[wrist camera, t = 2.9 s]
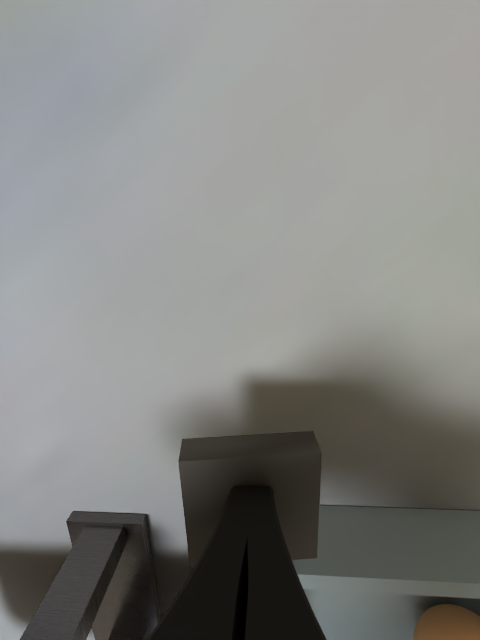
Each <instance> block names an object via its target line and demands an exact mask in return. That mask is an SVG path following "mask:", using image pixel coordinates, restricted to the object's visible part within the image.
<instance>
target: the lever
mask: <svg viewBox="0 0 480 640" xmlns="http://www.w3.org/2000/svg"><path fill="white" fill-rule="evenodd" d="M179 470H180V480H181V489H182V498H183V507H184V516H185V525H186V534H187V543H188V552H189V561H190V567H195V565H196V563H197V562H198V560H199V558H200V556H201V555H202V553H203V551H204V549H205V547H206V545H207V543H208V541H209V539H210V537H211V535H212V533H213V531H214V529H215V527H216V525H217V523H218V521H219V518H220V516H221V514H222V512H223V509H224V507H225V504H226V502H227V499H228V496H229V493H230V490H231V489H232V488H233V487H234V486H270V487H271V488H272V489H273V491H274V500H275V506H276V511H277V515H278V519H279V522H280V526H281V530H282V533H283V536H284V539H285V542H286V545H287V548H288V551H289V554H290V556H291V559H292V560H300V559H314V558H317V550H318V525H319V500H320V475H321V450H320V448H319V445H318V443H317V440H316V438H315V435H314V433H313V431H308V432H291V433H274V434H258V435H241V436H225V437H208V438H192V439H182V444H181V450H180V456H179Z"/></svg>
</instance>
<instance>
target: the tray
mask: <svg viewBox="0 0 480 640" xmlns="http://www.w3.org/2000/svg"><path fill="white" fill-rule="evenodd" d="M292 562H293V565H294V567H295V570H296V572H297V575H298V577H299V580H300V582H301V585H302V587H303V589H304V592H305V594H306V596H307V599H308V601H309V603H310V605H311V608H312V610H313V612H314V614H315V616H316V618H317V621H318V623H319V625H320V627H321V629H322V631H323V633H324V635H325V637H326V639H327V640H414V631H415V627H416V624H417V622H418V620H419V618H420V617H421V615H422V614H423V613H424V612H425V611H426V610H428V609H429V608H431V607H433V606H436V605H439V604H453V605H458V606H461V607H464V608H466V609H468V610H470V611H472V612H474V613H475V614H477V615H478V616H479V617H480V511H469V510H440V509H412V508H383V507H354V506H325V505H319V525H318V550H317V558H314V559H300V560H292Z"/></svg>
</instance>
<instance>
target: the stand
mask: <svg viewBox="0 0 480 640" xmlns="http://www.w3.org/2000/svg"><path fill="white" fill-rule="evenodd" d="M66 522H67V526H68V530H69V534H70V538H71V542H72V546H73V548H72V549H71V551H70V553H69V555H68V556H67V558H66V560H65V562H64V563H63V565H62V567H61V569H60V570H59V572H58V574H57V576H56V577H55V579H54V581H53V583H52V584H51V586H50V588H49V590H48V591H47V593H46V595H45V597H44V598H43V600H42V602H41V604H40V605H39V607H38V609H37V611H36V612H35V614H34V616H33V618H32V619H31V621H30V623H29V625H28V626H27V628H26V630H25V632H24V633H23V635H22V637H21V639H20V640H86V639H87V636H88V634H89V632H90V629H91V627H92V628H93V632H94V636H95V640H147V638H148V637H149V636H150V634H151V633H152V632H153V630H154V629H155V627H156V626H157V625H158V623H159V622H160V620H161V619H162V618H161V612H160V605H159V599H158V592H157V586H156V579H155V573H154V566H153V560H152V553H151V547H150V540H149V534H148V527H147V521H146V514H122V513H96V512H72V513H71V515H70V516H69V518H68V519H67V521H66Z"/></svg>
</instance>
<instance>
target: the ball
mask: <svg viewBox="0 0 480 640" xmlns="http://www.w3.org/2000/svg"><path fill="white" fill-rule="evenodd" d="M414 640H480V617H479V616H478V615H477V614H475V613H474V612H472V611H470V610H468V609H466V608H464V607H461V606H458V605H453V604H439V605H436V606H433V607H431V608H429V609H428V610H426V611H425V612H424V613H423V614H422V615H421V617H420V618H419V620H418V622H417V624H416V627H415V631H414Z"/></svg>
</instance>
